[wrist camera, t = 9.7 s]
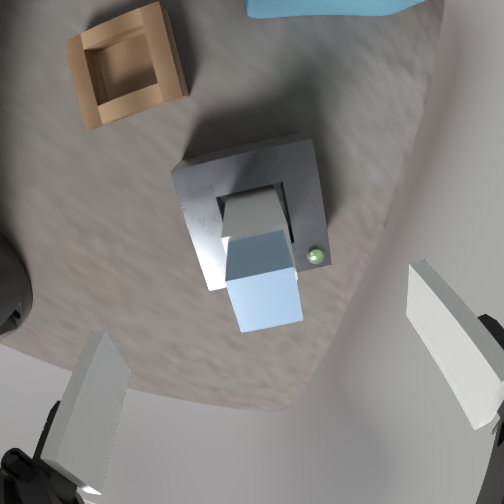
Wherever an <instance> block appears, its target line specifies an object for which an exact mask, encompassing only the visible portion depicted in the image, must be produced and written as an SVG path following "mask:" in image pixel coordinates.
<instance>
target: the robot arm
mask: <svg viewBox="0 0 504 504" xmlns="http://www.w3.org/2000/svg"><path fill="white" fill-rule="evenodd" d="M408 282H409V283H408V297H407V298H408V299H407V311H406V316H407V317H408V319H409V320H410V322H411V323H412V325H413V326H414V328H415V329H416V331H417V332H418V334H419V336H420V337H421V339H422V340H423V342H424V343H425V345H426V347H427V348H428V350H429V351H430V353H431V355H432V356H433V358H434V359H435V361H436V363H437V364H438V366H439V368H440V370H441V371H442V373H443V375H444V376H445V378H446V379H447V381H448V383H449V385H450V386H451V388H452V390H453V391H454V394H455V395H456V397H457V399H458V401H459V402H460V404H461V406H462V408H463V410H464V412H465V413H466V415H467V417H468V419H469V421H470V422H471V424H472V427H473V428H474V430H476V429H478V428H479V427H481V426H483V425H485V424H487V423H489V422H490V421H491V420H492V419H493V418H494V416H495V414H496V413H497V412H498V414H499V416H500V420H499V421H498V423H497V425H496V426H495V427H494V429H493V431H492V433H491V434H494V433H495V432H496V430H497V432H496V437H495V441H494V446H493V449H492V453H491V457H490V461H489V465H488V468H487V472H486V475H485V478H484V481H483V484H482V487H481V490H480V493H479V496H478V499H477V502H476V504H504V329H503V327H502V326H501V325H500V324H499V323H498V322H497V320H495V319H493V318H492V317H490V316H488V315H487V314H484V315H481V316H479V317H476V316H475V315H474V313H473V312H472V311H471V310H470V309H469V307H468V306H467V305H466V304H465V303H464V302H463V301H462V299H461V298H460V297H459V296H458V295H457V294H456V293H455V292H454V290H453V289H452V288H451V287H450V286H449V285H448V284H447V283H446V282H445V281H444V280H443V278H441V276H440V275H439V274H438V273H437V272H436V271H435V270H434V269H433V268H432V267H431V266H430V265H429V264H428V263H427V262H426V261H425V260H421V261H418V262H414V263H411V264H409V281H408ZM31 307H32V292H31V287H30V283H29V279H28V276H27V274H26V271H25V269H24V267H23V264H22V263H21V261H20V259H19V257H18V255H17V254H16V252H15V251H14V249H13V248H12V247H11V245H10V244H9V243H8V242H7V240H6V239H5V238H4V237H3V236H2V235H1V234H0V340H2V339H4V338H5V337H7V336H8V335H10V334H12V333H13V332H15V331H16V330H17V329H19V328H20V326H21V325H22V324H23V322H24V321H25V320H26V318H27V317H28V315H29V313H30V311H31ZM130 375H131V371H130V369H129V368H128V366H127V365H126V363H125V362H124V360H123V359H122V357H121V356H120V354H119V352H118V351H117V349H116V348H115V346H114V344H113V343H112V341H111V340H110V338H109V336H108V335H107V333H106V331H105V330H102V331H96V332H91V334H90V336H89V338H88V340H87V342H86V344H85V346H84V349H83V351H82V353H81V355H80V357H79V360H78V362H77V364H76V366H75V369H74V371H73V373H72V376H71V378H70V381H69V383H68V385H67V387H66V390H65V392H64V395H63V397H62V400H61V401H57V402H56V404H55V405H54V406H53V408H52V409H51V410H50V413H49V415H48V418H47V422H46V423H45V426H44V430H43V431H42V434H41V436H40V439H39V442H38V445H37V447H36V450H35V453H34V456H33V458H32V459H31V458H30V457H29V456H27V455H26V454H25V453H24V452H23V451H21V450H20V449H19V448H12V449H10V450H8V451H7V452H6V453H5V454H4V456H3V458H2V460H1V468H0V504H85V503H84V501H83V499H82V498H81V496H80V495H79V494H78V493H77V492H76V490H77V486H78V487H79V488H81V489H82V490H84V491H85V492H87V493H94V494H100V495H102V493H103V488H104V483H105V478H106V473H107V468H108V464H109V459H110V455H111V450H112V446H113V442H114V437H115V433H116V429H117V425H118V421H119V417H120V413H121V409H122V405H123V401H124V397H125V394H126V390H127V386H128V383H129V379H130Z"/></svg>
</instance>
